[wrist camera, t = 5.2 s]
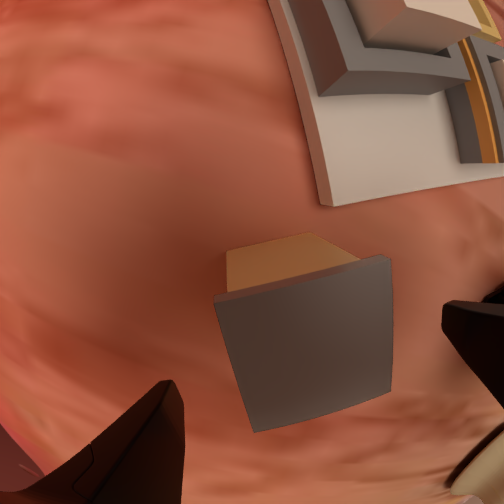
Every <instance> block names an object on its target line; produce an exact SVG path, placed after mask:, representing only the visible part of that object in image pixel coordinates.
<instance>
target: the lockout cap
mask: <svg viewBox="0 0 504 504" xmlns="http://www.w3.org/2000/svg"><path fill="white" fill-rule="evenodd" d="M226 267H227V293H222V294H218V295H214V307H215V310H216V314H217V317H218V321H219V324H220V328H221V331H222V335H223V338H224V341H225V345H226V348H227V351H228V355H229V358H230V361H231V364H232V368H233V371H234V374H235V377H236V380H237V384H238V387H239V390H240V393H241V396H242V399H243V402H244V405H245V408H246V411H247V414H248V417H249V420H250V423H251V426H252V429H253V432H254V433H255V432H260V431H265V430H270V429H274V428H279V427H283V426H287V425H291V424H295V423H299V422H303V421H306V420H310V419H313V418H317V417H320V416H324V415H327V414H330V413H333V412H336V411H339V410H343V409H345V408H348V407H351V406H354V405H357V404H360V403H363V402H365V401H368V400H371V399H373V398H376V397H378V396H381V395H383V394H386V393H388V392H391V382H392V364H393V290H392V271H391V259H390V258H388V257H385V256H383V255H381V254H380V255H376V256H373V257H369V258H365V259H359V258H358V257H356V256H354V255H352V254H350V253H348V252H347V251H345V250H343V249H341V248H339V247H337V246H336V245H334V244H332V243H330V242H328V241H326V240H324V239H322V238H321V237H319V236H317V235H315V234H313V233H311V232H307V233H303V234H298V235H294V236H290V237H285V238H281V239H276V240H272V241H267V242H263V243H259V244H254V245H250V246H246V247H241V248H237V249H232V250H228V251H226Z"/></svg>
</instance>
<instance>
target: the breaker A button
mask: <svg viewBox="0 0 504 504" xmlns="http://www.w3.org/2000/svg"><path fill="white" fill-rule="evenodd" d="M490 66H491V69H492V72H493V75H494V78H495V81H496V84H497V88H498V91H499V95H500V98H501V102H502V106H503V110H504V60H503V59H502V60H499V61H496V62H493V63H490Z"/></svg>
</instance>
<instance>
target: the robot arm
mask: <svg viewBox="0 0 504 504" xmlns="http://www.w3.org/2000/svg"><path fill="white" fill-rule="evenodd" d="M441 327H442V330H443V332H444V334H445V335H446V336H447V338H448V339H449V340H450V342H451V343H452V345H453V346H454V347H455V349H456V350H457V352H458V353H459V354H460V356H461V357H462V359H463V360H464V361H465V362H466V364H467V365H468V366H469V367H470V368H471V369H472V371H473V372H474V373H475V374H476V375H477V376H478V378H479V379H480V380H481V381H482V382H483V384H484V385H485V386H486V387H487V388H488V390H489V391H490V392H491V393H492V395H493V396H494V397H495V398H496V400H497V401H498V402H499V403H500V405H501V406H502V407H503V409H504V287H503V288H501V289H499V290H497V291H496V292H494V293H492V294H490V295H488V296H487V297H486V298H485V299H484V301H483V303H480V302H469V301H458V300H452V301H450V302H447V303H445V304H444V305H443V309H442V323H441ZM184 456H185V427H184V404H183V400H182V398H181V395H180V393H179V391H178V389H177V386H176V384H175V382H174V381H173V380H164V381H159V382H158V383H157V384H156V385H155V386H154V387H153V388H152V389H150V390H149V391H148V392H147V393H146V394H145V395H144V396H143V397H142V398H140V399H139V400H138V401H137V402H136V403H135V404H134V405H133V406H132V407H130V408H129V409H128V410H127V411H126V412H125V413H124V414H123V415H121V416H120V417H119V418H118V419H117V420H116V421H115V422H113V423H112V424H111V425H110V426H109V427H108V428H107V429H105V430H104V431H103V432H102V433H101V434H100V435H98V436H97V437H96V438H95V439H94V440H93V441H91V444H88V445H87V446H86V447H84V448H83V449H82V450H81V451H80V452H78V453H77V454H76V455H75V456H73V457H72V458H71V459H70V460H68V461H67V462H65V463H64V464H63V465H61V466H60V467H58V468H57V469H55V470H54V471H52V472H51V473H49V474H48V475H46V476H45V477H44V478H42V479H40V480H39V481H37V482H36V483H34V484H33V485H31V486H29V487H28V488H26V489H23V490H20V491H16V492H3V491H0V504H181V495H182V481H183V468H184Z"/></svg>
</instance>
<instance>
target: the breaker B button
mask: <svg viewBox="0 0 504 504" xmlns="http://www.w3.org/2000/svg"><path fill="white" fill-rule="evenodd" d="M345 2H346V4H347V6H348V8H349V11H350V13H351V15H352V18H353V20H354V23H355V25H356V28H357V30H358V33H359V35H360V38H361V41H362V43H363V46H364V48H380V49H392V50H402V51H410V52H418V53H424V54H431V55H433V54H435V53H437V52H439V51H441V50H442V49H444V48H446V47H448V46H450V45H452V44H454V43H456V42H458V41H460V40H462V39H464V38H466V37H468V36H471V35H473V34H475V33H477V32H479V31H481V30H482V28H481V25H480V23H479V21H478V19H477V17H476V15H475V13H474V11H473V9H472V7H471V5H470V3H469V2H468V0H345Z"/></svg>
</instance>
